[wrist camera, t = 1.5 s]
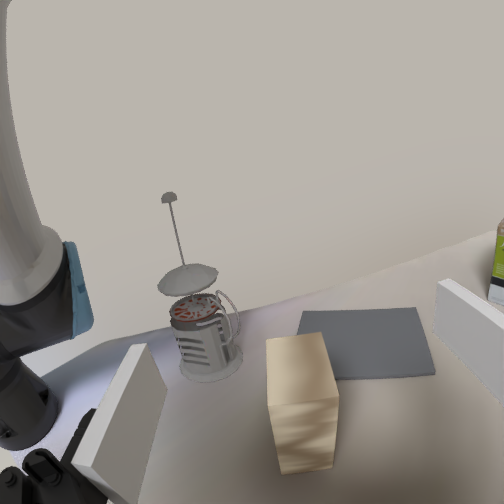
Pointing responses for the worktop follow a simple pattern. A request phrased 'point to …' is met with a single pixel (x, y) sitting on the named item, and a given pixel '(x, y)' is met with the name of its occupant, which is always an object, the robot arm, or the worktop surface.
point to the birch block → (302, 402)
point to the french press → (200, 320)
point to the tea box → (498, 269)
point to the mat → (372, 342)
